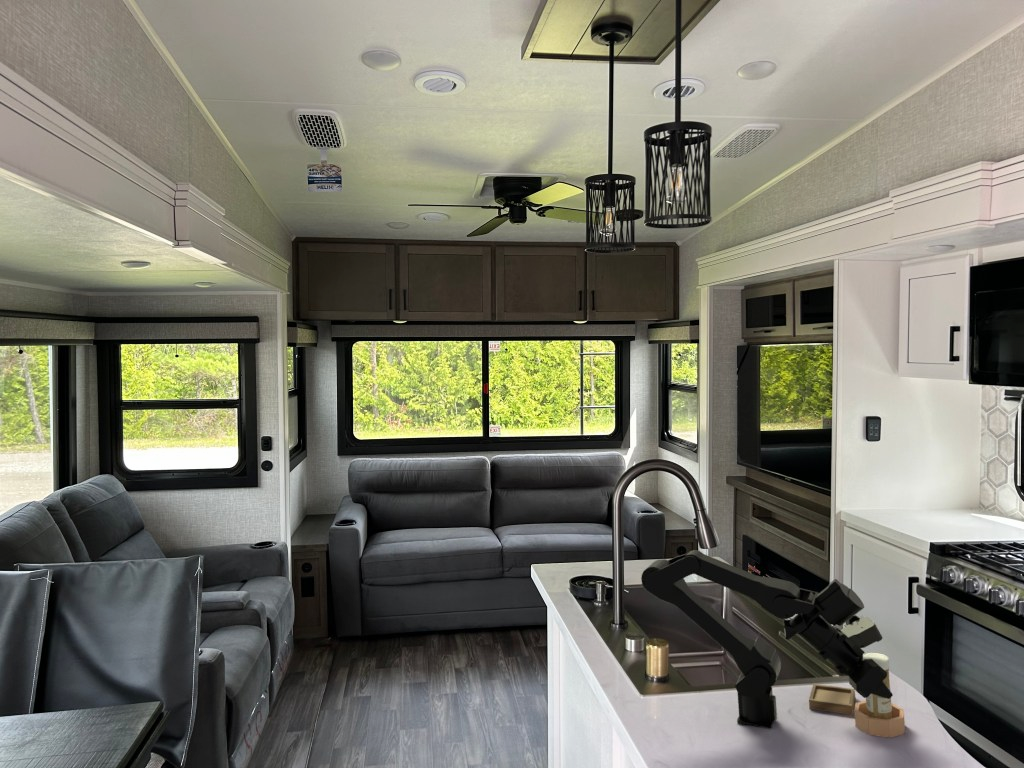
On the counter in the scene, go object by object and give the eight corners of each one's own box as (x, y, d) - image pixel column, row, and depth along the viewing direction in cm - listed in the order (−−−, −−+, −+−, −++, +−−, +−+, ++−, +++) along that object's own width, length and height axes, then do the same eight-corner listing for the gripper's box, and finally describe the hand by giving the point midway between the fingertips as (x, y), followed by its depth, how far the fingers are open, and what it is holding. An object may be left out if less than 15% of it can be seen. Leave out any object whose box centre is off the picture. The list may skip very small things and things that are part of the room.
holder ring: (854, 732, 141) (853, 716, 141) (857, 712, 149) (856, 697, 149) (904, 739, 137) (903, 723, 137) (904, 719, 145) (903, 704, 145)
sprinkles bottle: (892, 733, 140) (888, 662, 140) (865, 729, 142) (861, 659, 142) (893, 722, 144) (889, 653, 144) (867, 718, 146) (863, 650, 146)
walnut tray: (809, 708, 152) (808, 699, 152) (813, 692, 159) (813, 683, 159) (852, 714, 148) (852, 705, 148) (855, 697, 155) (854, 689, 155)
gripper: (872, 623, 133) (939, 681, 133) (833, 591, 152) (891, 642, 152) (830, 669, 134) (897, 726, 134) (796, 631, 153) (854, 682, 152)
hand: (885, 691), depth 143 cm, fingers closed on sprinkles bottle, 4 cm apart
